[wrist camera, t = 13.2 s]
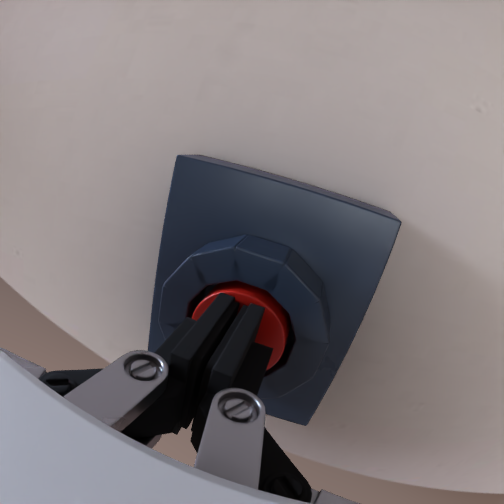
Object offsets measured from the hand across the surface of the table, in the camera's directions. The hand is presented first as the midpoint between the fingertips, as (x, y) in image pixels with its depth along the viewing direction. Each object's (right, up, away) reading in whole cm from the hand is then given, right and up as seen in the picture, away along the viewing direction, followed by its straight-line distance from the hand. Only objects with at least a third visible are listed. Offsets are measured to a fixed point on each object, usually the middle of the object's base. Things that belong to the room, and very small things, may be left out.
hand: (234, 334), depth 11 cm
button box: (+1, +1, +4) cm, 4 cm away
